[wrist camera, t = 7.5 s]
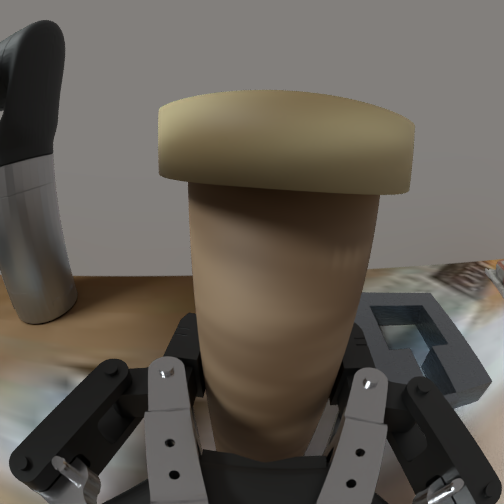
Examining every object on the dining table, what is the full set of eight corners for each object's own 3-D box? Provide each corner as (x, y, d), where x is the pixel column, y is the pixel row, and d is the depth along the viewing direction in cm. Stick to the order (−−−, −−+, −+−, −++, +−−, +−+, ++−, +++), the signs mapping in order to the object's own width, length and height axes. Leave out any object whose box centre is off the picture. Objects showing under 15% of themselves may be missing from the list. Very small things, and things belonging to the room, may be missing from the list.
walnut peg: (198, 492, 10) (101, 105, 4) (215, 413, 16) (198, 122, 9) (311, 499, 10) (472, 131, 3) (308, 418, 16) (365, 132, 9)
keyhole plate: (423, 310, 27) (430, 293, 26) (480, 406, 13) (495, 387, 12) (336, 311, 28) (340, 291, 27) (367, 434, 14) (379, 416, 13)
